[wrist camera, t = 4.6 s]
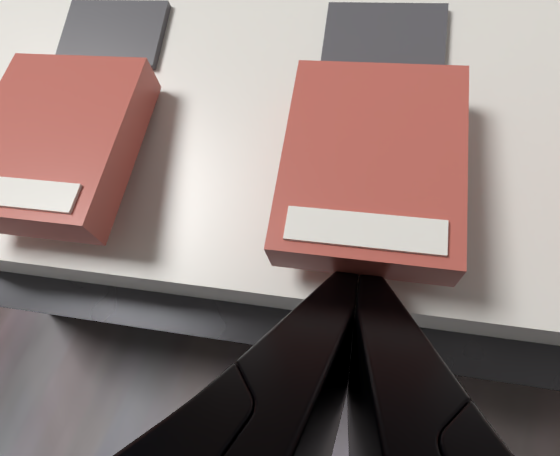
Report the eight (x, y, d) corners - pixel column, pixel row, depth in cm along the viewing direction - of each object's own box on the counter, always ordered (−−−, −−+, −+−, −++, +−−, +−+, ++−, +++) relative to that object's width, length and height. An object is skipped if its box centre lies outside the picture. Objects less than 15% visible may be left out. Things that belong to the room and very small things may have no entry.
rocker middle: (458, 96, 9) (470, 62, 8) (453, 286, 8) (468, 270, 7) (302, 90, 10) (298, 57, 9) (271, 266, 8) (262, 247, 8)
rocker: (161, 87, 11) (145, 54, 10) (105, 246, 9) (79, 224, 8) (39, 81, 11) (13, 50, 10) (-35, 229, 10) (-73, 207, 9)
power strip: (834, 92, 11) (1013, -5, 8) (887, 389, 10) (1137, 405, 7) (44, 62, 15) (-33, -11, 12) (-20, 268, 14) (-128, 242, 10)
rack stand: (722, 146, 16) (876, 58, 11) (750, 418, 14) (958, 450, 9) (101, 110, 20) (26, 35, 16) (48, 313, 18) (-60, 297, 13)
